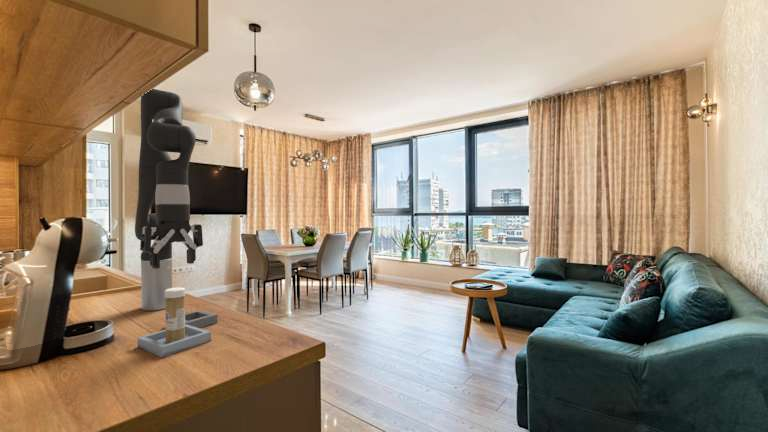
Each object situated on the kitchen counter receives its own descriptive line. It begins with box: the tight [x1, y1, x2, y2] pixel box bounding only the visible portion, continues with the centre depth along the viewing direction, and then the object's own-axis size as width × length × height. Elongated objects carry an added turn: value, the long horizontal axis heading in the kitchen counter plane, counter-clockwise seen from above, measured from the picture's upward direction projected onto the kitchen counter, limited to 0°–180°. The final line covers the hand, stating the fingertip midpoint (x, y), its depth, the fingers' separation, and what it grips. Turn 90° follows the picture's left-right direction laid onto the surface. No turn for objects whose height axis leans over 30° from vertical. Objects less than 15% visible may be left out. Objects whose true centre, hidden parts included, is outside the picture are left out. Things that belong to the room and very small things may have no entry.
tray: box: [137, 324, 212, 358], centre depth 89 cm, size 12×12×2 cm
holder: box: [185, 309, 218, 329], centre depth 104 cm, size 10×10×2 cm
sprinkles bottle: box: [165, 286, 186, 343], centre depth 89 cm, size 5×5×14 cm
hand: (173, 265), depth 89 cm, fingers open, 8 cm apart
